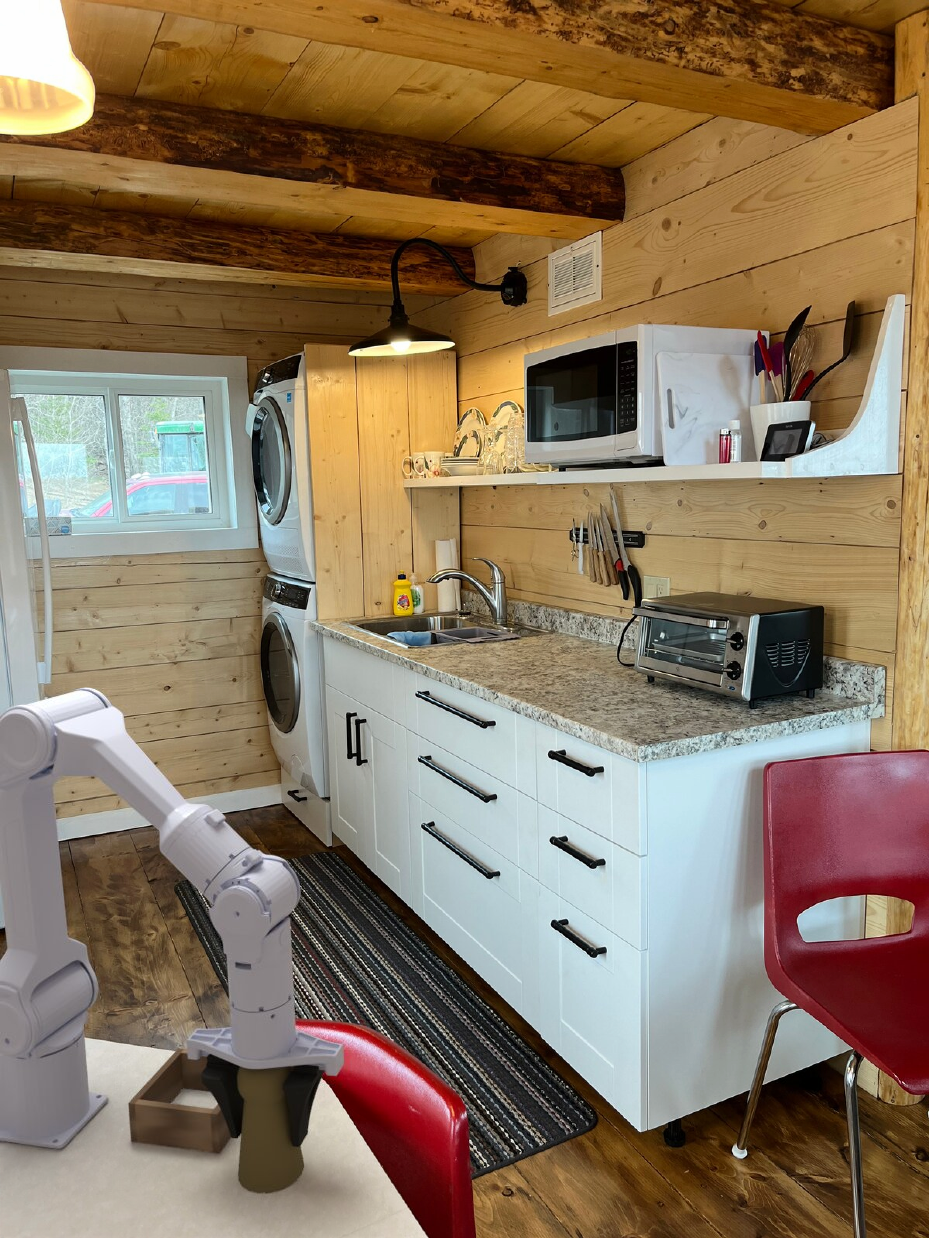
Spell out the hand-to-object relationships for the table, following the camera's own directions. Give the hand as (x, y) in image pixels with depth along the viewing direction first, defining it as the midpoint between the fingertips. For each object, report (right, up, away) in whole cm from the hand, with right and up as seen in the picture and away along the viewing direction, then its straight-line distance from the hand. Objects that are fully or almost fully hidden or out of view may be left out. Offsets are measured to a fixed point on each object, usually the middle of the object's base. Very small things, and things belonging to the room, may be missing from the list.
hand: (269, 1135), depth 86 cm
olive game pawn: (0, -4, 0) cm, 4 cm away
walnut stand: (-9, -3, +8) cm, 12 cm away
